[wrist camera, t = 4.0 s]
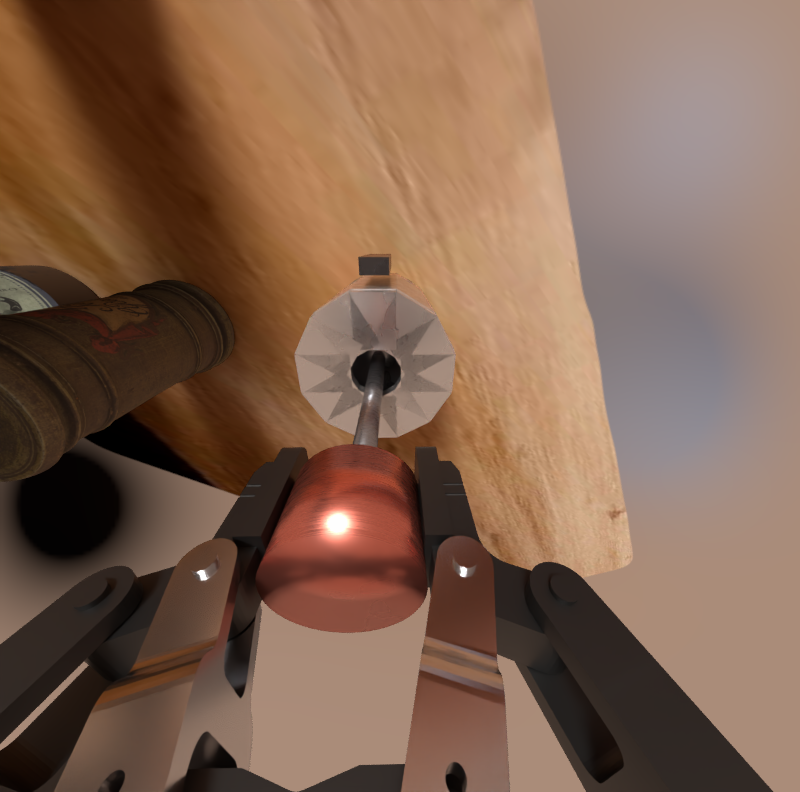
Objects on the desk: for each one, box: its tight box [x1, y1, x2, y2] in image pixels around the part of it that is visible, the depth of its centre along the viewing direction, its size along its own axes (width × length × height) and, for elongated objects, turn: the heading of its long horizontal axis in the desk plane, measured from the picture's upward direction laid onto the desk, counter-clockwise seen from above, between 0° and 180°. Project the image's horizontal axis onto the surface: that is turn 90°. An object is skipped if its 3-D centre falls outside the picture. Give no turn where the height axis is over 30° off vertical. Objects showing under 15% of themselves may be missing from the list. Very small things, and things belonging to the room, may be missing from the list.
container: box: [0, 280, 234, 482], centre depth 21 cm, size 9×9×18 cm
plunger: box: [255, 350, 428, 633], centre depth 14 cm, size 7×7×17 cm
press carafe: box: [295, 254, 456, 438], centre depth 23 cm, size 12×10×13 cm
